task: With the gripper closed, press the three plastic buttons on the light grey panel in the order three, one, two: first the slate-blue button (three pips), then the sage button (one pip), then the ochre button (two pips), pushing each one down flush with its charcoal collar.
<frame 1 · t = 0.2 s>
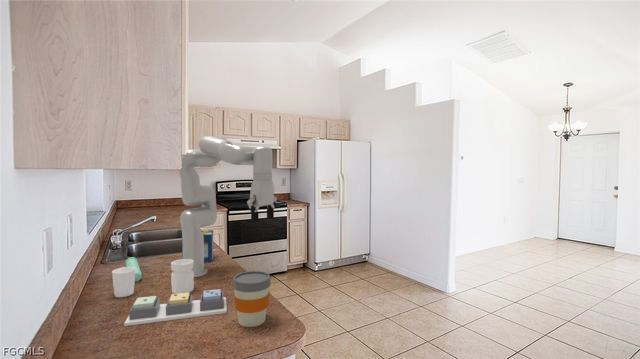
hand: (262, 220, 128), 31 cm above the countertop, tool pointing down, fingers open, 9 cm apart
vase: (182, 290, 133), on the countertop
container: (133, 275, 151), on the countertop
button 1: (145, 303, 110), point 4 cm above the countertop, slide at 0.0 cm
button 2: (179, 299, 114), point 4 cm above the countertop, slide at 0.0 cm
reusable coffee cup: (251, 320, 108), on the countertop
button 3: (212, 296, 117), point 4 cm above the countertop, slide at 0.0 cm
button panel: (179, 311, 114), on the countertop
white cup: (124, 294, 128), on the countertop
protein box: (198, 260, 175), on the countertop
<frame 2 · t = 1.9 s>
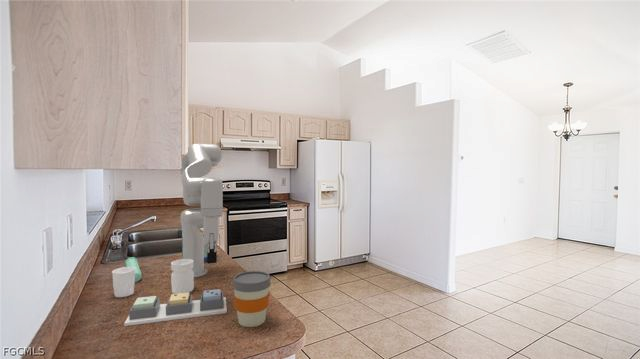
hand: (211, 261, 116), 17 cm above the countertop, tool pointing down, fingers closed
nothing on the countertop moved.
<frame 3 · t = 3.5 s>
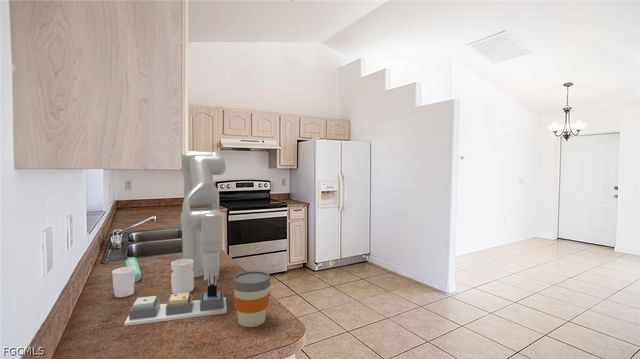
hand: (212, 295, 117), 5 cm above the countertop, tool pointing down, fingers closed
button 3: (212, 298, 117), point 3 cm above the countertop, slide at 1.0 cm, touching gripper
everything else where it was.
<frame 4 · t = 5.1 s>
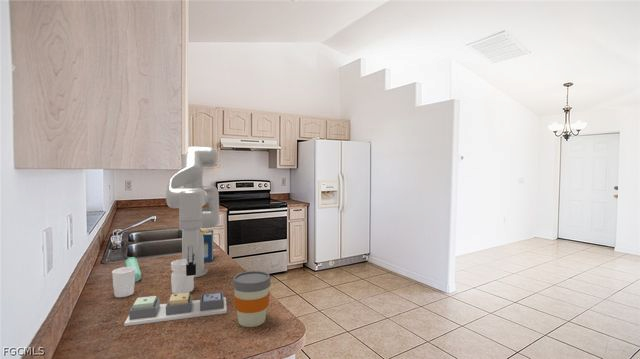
hand: (191, 274, 114), 13 cm above the countertop, tool pointing down, fingers closed
button 3: (212, 300, 117), point 3 cm above the countertop, slide at 1.5 cm
everything else where it was.
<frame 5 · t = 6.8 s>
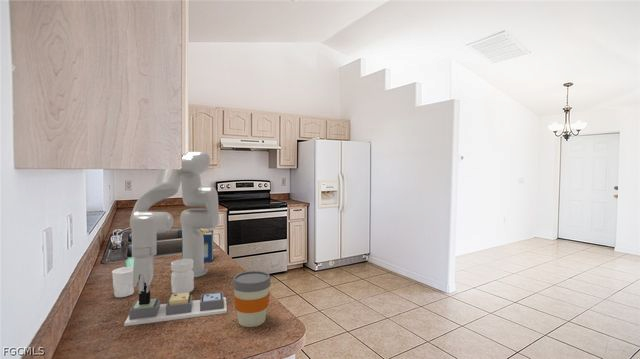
hand: (144, 303, 110), 5 cm above the countertop, tool pointing down, fingers closed
button 1: (145, 306, 110), point 3 cm above the countertop, slide at 1.1 cm, touching gripper
everything else where it was.
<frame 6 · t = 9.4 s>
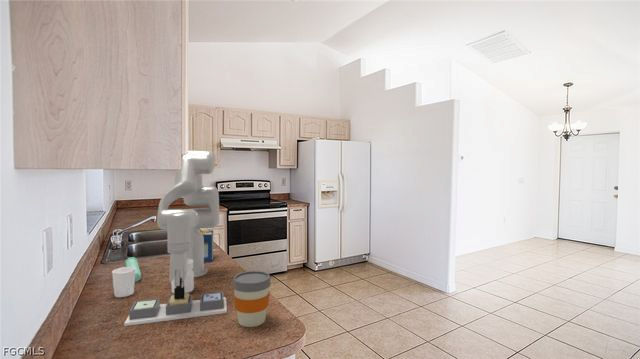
hand: (179, 297, 113), 5 cm above the countertop, tool pointing down, fingers closed
button 1: (145, 307, 110), point 3 cm above the countertop, slide at 1.5 cm
button 2: (179, 301, 114), point 4 cm above the countertop, slide at 0.5 cm, touching gripper
everything else where it was.
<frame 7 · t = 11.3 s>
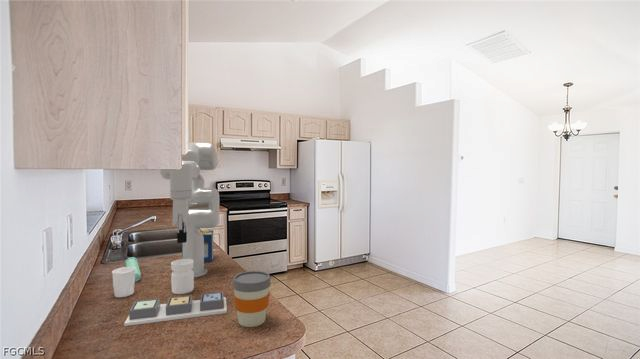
hand: (182, 242, 121), 23 cm above the countertop, tool pointing down, fingers closed
button 2: (179, 303, 114), point 3 cm above the countertop, slide at 1.5 cm
everything else where it was.
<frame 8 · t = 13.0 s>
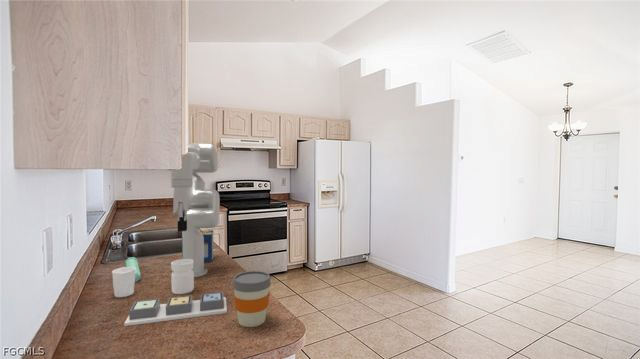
hand: (182, 230, 123), 27 cm above the countertop, tool pointing down, fingers closed
nothing on the countertop moved.
at the end: button 1 slide at 1.5 cm; button 2 slide at 1.5 cm; button 3 slide at 1.5 cm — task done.
